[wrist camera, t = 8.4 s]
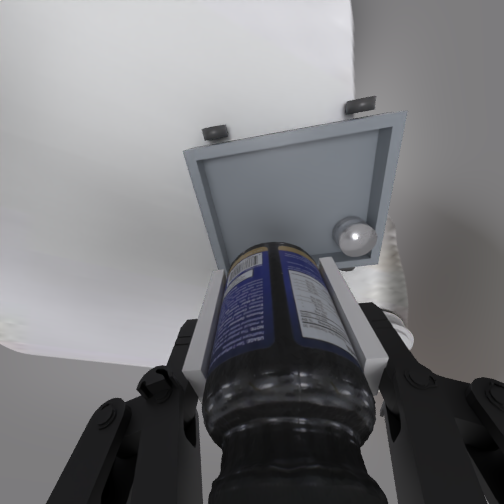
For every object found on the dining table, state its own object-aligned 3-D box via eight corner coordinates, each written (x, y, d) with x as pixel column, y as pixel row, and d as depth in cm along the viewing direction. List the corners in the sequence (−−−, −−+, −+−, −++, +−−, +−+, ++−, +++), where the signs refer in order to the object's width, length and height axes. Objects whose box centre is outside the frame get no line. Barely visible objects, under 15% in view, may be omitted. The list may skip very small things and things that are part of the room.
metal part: (331, 246, 27) (339, 258, 24) (333, 218, 25) (341, 228, 22) (363, 242, 27) (374, 254, 24) (367, 213, 24) (380, 223, 22)
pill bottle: (236, 311, 16) (204, 575, 7) (219, 243, 13) (109, 562, 3) (317, 304, 15) (410, 587, 6) (319, 231, 12) (523, 584, 3)
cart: (227, 274, 31) (224, 289, 28) (188, 132, 22) (177, 133, 19) (363, 258, 29) (376, 273, 26) (388, 94, 20) (411, 88, 17)
